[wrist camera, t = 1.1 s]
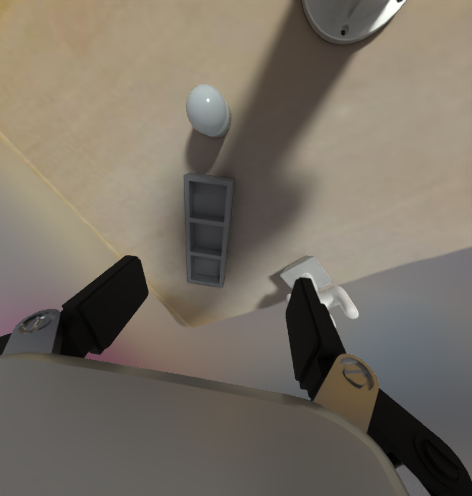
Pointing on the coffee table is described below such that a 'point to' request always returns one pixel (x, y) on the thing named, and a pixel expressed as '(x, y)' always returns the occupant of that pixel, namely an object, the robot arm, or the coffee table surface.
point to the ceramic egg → (208, 111)
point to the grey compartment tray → (207, 227)
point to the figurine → (319, 285)
